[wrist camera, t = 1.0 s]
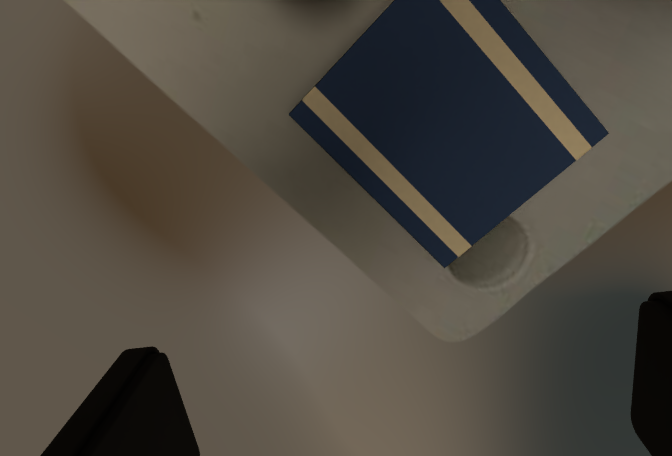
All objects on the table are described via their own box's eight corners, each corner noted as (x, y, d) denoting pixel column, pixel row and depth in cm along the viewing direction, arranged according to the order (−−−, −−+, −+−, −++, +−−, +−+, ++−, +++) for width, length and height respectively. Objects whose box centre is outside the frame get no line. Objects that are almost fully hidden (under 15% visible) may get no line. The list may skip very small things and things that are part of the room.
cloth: (289, 113, 35) (288, 114, 35) (449, -59, 31) (450, -61, 31) (443, 266, 39) (444, 268, 39) (606, 132, 35) (609, 133, 34)
